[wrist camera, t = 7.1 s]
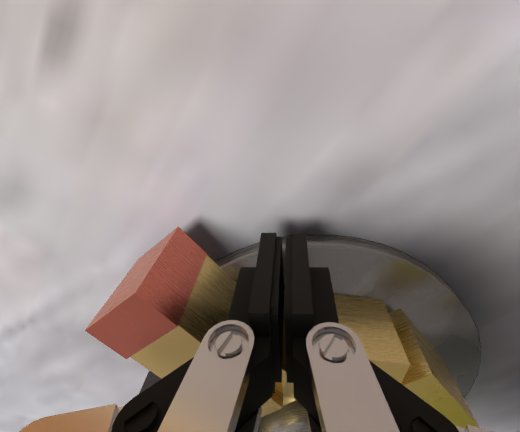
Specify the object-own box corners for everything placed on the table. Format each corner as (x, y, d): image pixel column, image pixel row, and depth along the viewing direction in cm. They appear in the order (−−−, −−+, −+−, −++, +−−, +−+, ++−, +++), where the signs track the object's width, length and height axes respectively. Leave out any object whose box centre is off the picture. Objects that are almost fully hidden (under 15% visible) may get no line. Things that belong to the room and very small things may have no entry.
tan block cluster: (78, 307, 14) (1, 397, 10) (270, 151, 10) (262, 205, 6) (291, 461, 19) (293, 558, 15) (477, 400, 15) (542, 513, 11)
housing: (114, 221, 13) (-22, 347, 7) (526, 246, 12) (749, 413, 6) (160, 422, 20) (112, 564, 15) (418, 447, 19) (475, 609, 14)
